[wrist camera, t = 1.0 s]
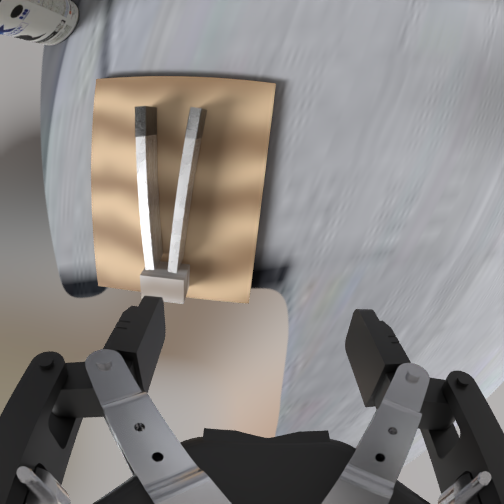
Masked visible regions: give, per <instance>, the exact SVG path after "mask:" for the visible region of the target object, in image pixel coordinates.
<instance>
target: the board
mask: <svg viewBox="0 0 504 504" xmlns="http://www.w3.org/2000/svg"><path fill="white" fill-rule="evenodd" d="M275 87H276V84H275V83H268V82H259V81H250V80H239V79H227V78H212V77H188V76H143V77H119V78H104V79H96V88H95V98H94V111H93V127H92V154H91V192H92V219H93V236H94V249H95V260H96V270H97V279H98V286H103V287H110V288H117V289H124V290H132V291H139V292H141V298H142V299H143V297H144V296H145V295H146V296H156V297H162V298H163V301H165V302H174V303H181V304H183V303H184V301H185V298H186V297H188V298H198V299H207V300H217V301H227V302H238V303H249V297H250V289H251V281H252V273H253V265H254V258H255V250H256V242H257V233H258V225H259V217H260V209H261V201H262V193H263V185H264V177H265V169H266V161H267V153H268V145H269V136H270V128H271V120H272V112H273V104H274V95H275ZM138 106H151V107H157V169H158V192H159V210H160V225H161V238H162V250H163V256H162V258H161V259H160V261H159V263H158V265H157V266H156V268H155V270H146V269H145V261H144V253H143V243H142V234H141V223H140V212H139V198H138V183H137V164H136V137H135V107H138ZM190 107H196V108H202V109H206V110H207V114H206V119H205V124H204V130H203V135H202V138H201V144H200V149H199V155H198V161H197V167H196V173H195V179H194V185H193V192H192V198H191V205H190V212H189V219H188V226H187V234H186V241H185V249H184V257H183V260H182V262H181V265H180V267H179V269H178V271H177V273H172V272H168V262H169V252H170V243H171V234H172V225H173V217H174V209H175V201H176V194H177V186H178V179H179V173H180V166H181V160H182V154H183V147H184V141H185V133H186V127H187V121H188V116H189V111H190Z"/></svg>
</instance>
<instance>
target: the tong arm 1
mask: <svg viewBox="0 0 504 504" xmlns="http://www.w3.org/2000/svg"><path fill="white" fill-rule="evenodd" d="M135 137H136V164H137V183H138V198H139V212H140V223H141V234H142V243H143V253H144V261H145V269H146V270H155V268H156V266H157V265H158V263H159V261H160V259H161V258H162V256H163V250H162V238H161V225H160V210H159V192H158V169H157V107H151V106H138V107H135Z"/></svg>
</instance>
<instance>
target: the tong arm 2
mask: <svg viewBox="0 0 504 504" xmlns="http://www.w3.org/2000/svg"><path fill="white" fill-rule="evenodd" d="M206 114H207V110H206V109H202V108H196V107H190V111H189V116H188V121H187V127H186V133H185V141H184V147H183V154H182V160H181V166H180V173H179V179H178V186H177V194H176V201H175V209H174V217H173V225H172V234H171V243H170V252H169V262H168V272H172V273H177V271H178V269H179V267H180V265H181V262H182V260H183V257H184V249H185V241H186V234H187V226H188V219H189V212H190V205H191V198H192V192H193V185H194V179H195V173H196V167H197V161H198V155H199V149H200V144H201V138H202V135H203V130H204V124H205V119H206Z"/></svg>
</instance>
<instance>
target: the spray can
mask: <svg viewBox="0 0 504 504" xmlns="http://www.w3.org/2000/svg"><path fill="white" fill-rule="evenodd" d="M78 18H79V11H78V8H77V6H76V5H75V4H74V3H73V2H72V1H71V0H0V34H2V35H7V36H12V37H16V38H20V39H24V40H29V41H32V42H36V43H40V44H44V45H56V44H58V43H60V42H62V41H64V40H65V39H66V38H67V37H68V36H70V34H71V33H72V32H73V30H74V29H75V27H76V25H77V22H78Z"/></svg>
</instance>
